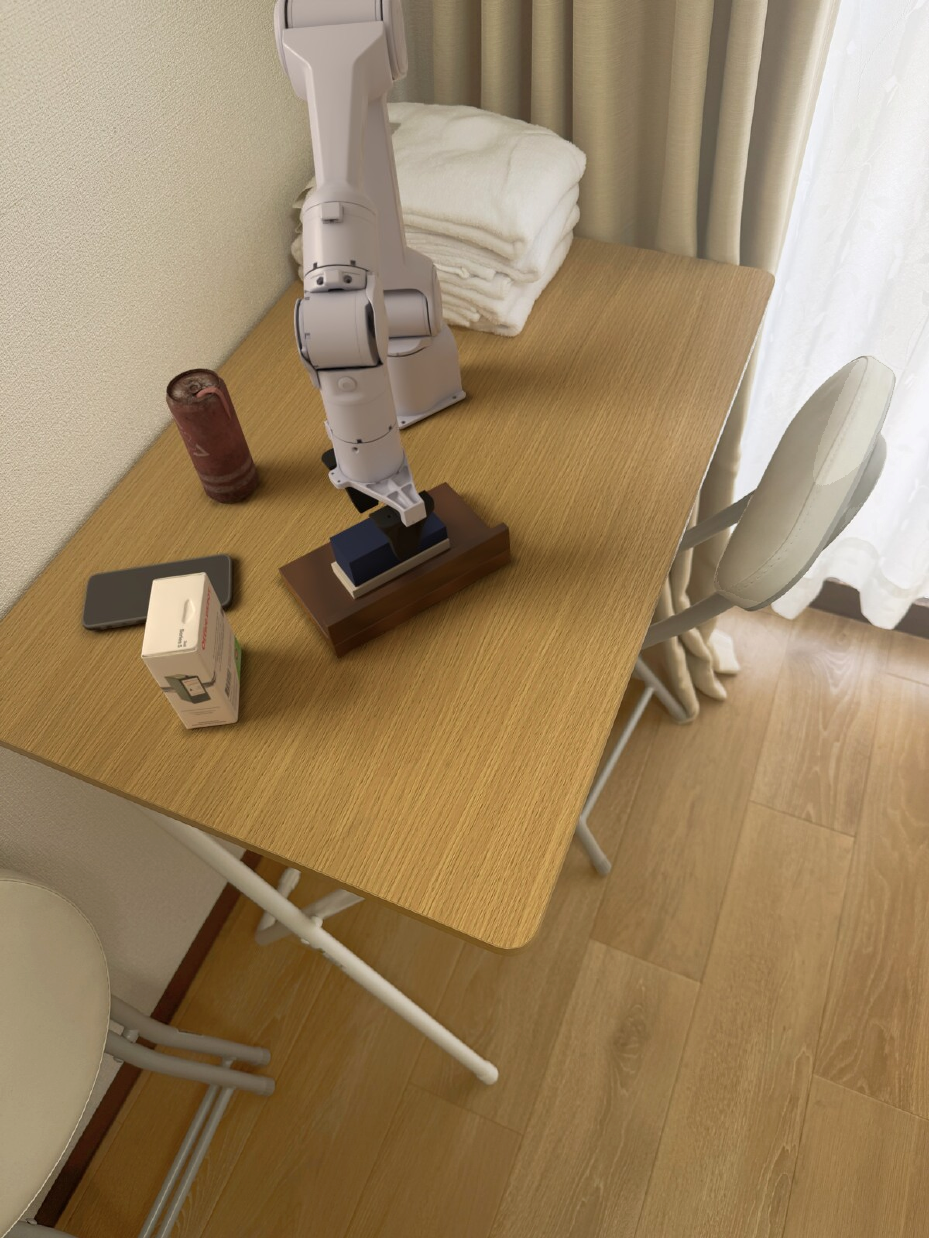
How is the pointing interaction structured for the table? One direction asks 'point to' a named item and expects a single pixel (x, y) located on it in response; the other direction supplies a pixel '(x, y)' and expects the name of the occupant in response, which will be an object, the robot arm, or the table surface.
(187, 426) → the can
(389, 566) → the navy block on plinth
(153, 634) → the ink box
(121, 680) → the table surface
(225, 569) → the smartphone
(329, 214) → the robot arm
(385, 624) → the wooden lipped stand
